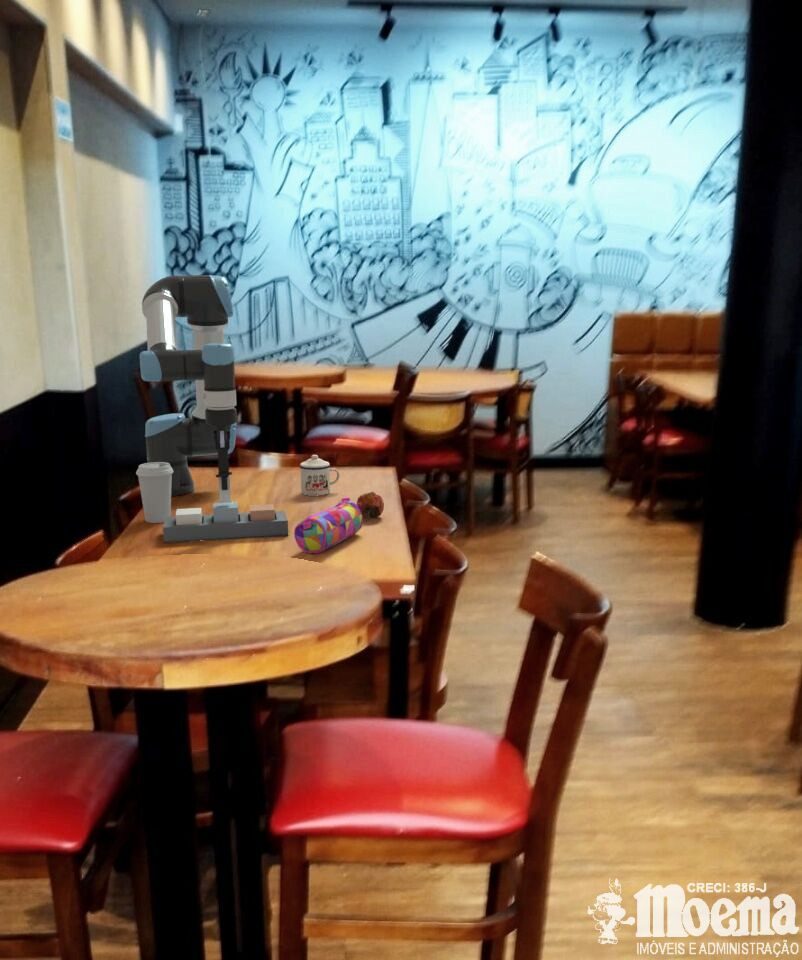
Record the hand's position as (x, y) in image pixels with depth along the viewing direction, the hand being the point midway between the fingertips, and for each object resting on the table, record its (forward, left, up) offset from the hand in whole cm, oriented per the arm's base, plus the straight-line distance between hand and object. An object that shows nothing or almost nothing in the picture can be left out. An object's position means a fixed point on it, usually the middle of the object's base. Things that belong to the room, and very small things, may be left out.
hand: (225, 501), depth 214 cm
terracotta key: (0, +9, -7) cm, 11 cm away
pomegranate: (-8, +38, -9) cm, 40 cm away
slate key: (0, 0, -5) cm, 5 cm away
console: (0, 0, -8) cm, 8 cm away
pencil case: (+13, +24, -9) cm, 29 cm away
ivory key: (0, -9, -7) cm, 11 cm away
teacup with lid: (-40, +28, -9) cm, 50 cm away
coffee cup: (-18, -18, -9) cm, 27 cm away
